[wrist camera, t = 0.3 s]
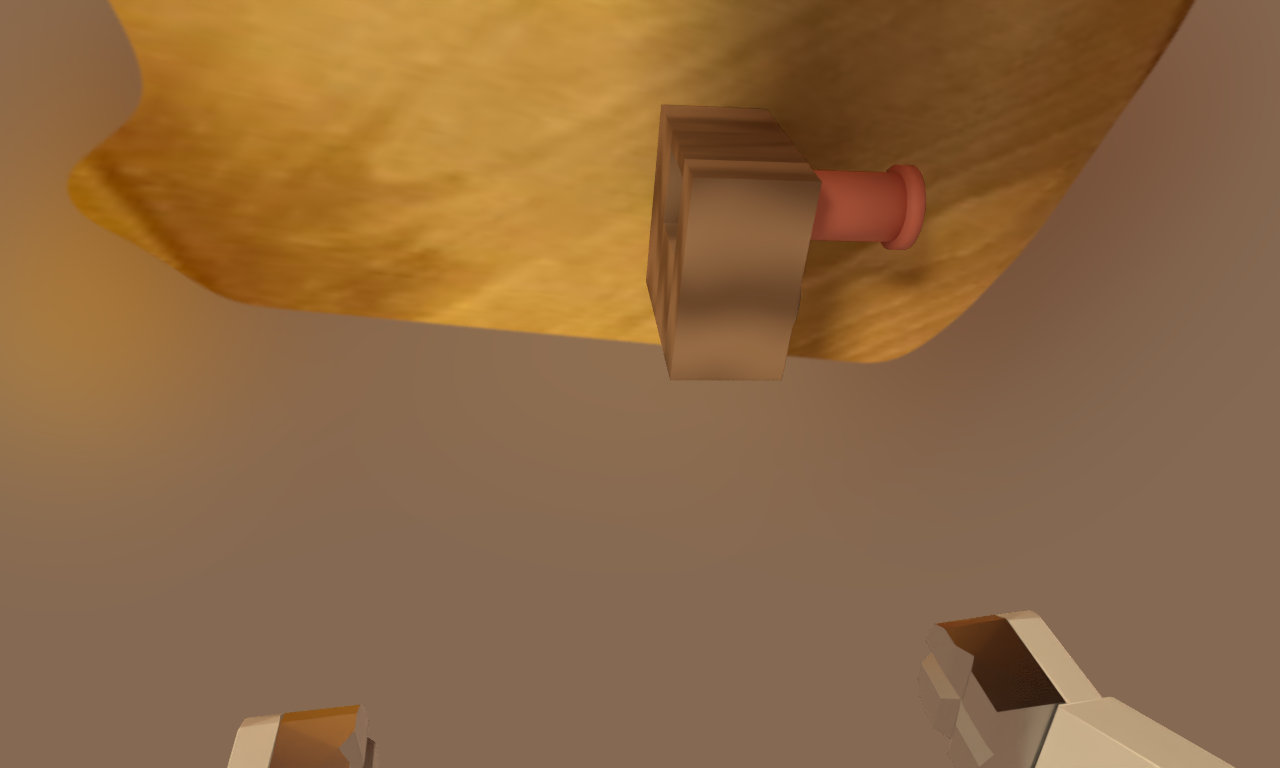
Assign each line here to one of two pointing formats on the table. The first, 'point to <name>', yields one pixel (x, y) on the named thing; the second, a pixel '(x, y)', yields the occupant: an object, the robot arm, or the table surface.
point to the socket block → (728, 241)
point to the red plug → (871, 206)
